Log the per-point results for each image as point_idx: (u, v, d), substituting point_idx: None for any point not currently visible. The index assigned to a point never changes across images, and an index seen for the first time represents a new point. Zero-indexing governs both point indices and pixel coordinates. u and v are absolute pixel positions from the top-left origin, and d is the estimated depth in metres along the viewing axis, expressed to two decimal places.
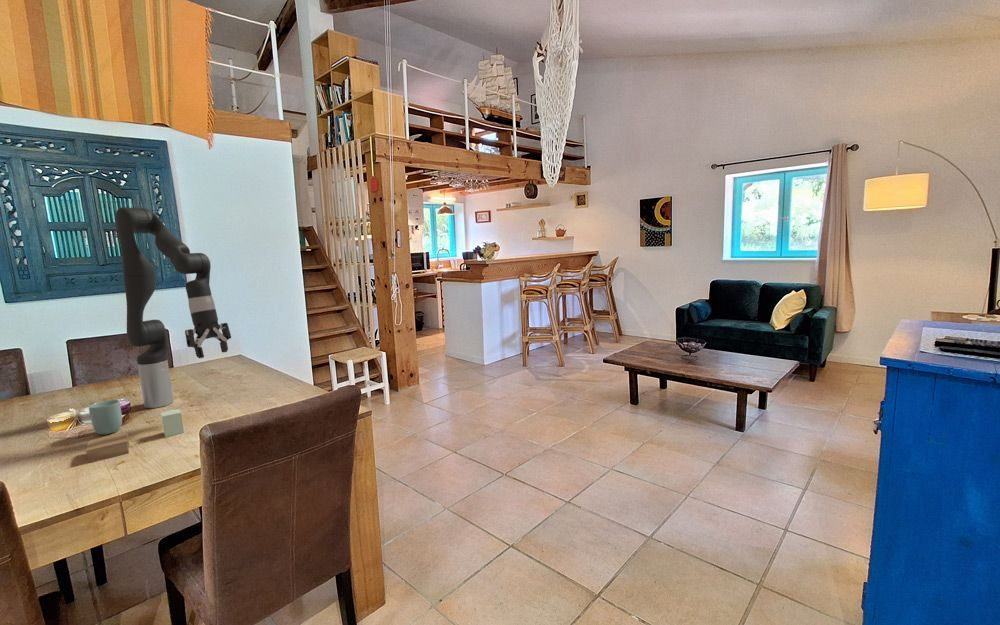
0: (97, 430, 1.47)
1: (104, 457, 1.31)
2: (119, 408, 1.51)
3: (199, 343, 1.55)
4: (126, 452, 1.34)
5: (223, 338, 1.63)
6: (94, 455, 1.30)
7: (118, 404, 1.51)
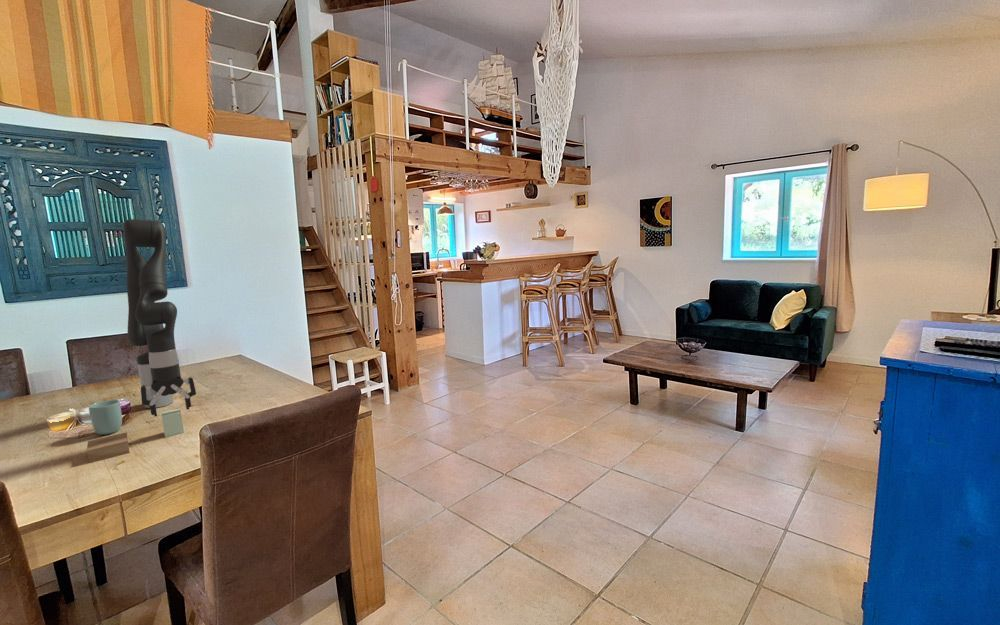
0: (97, 430, 1.47)
1: (105, 457, 1.31)
2: (119, 408, 1.51)
3: (152, 401, 1.43)
4: (127, 452, 1.34)
5: (185, 395, 1.49)
6: (94, 455, 1.30)
7: (118, 404, 1.51)
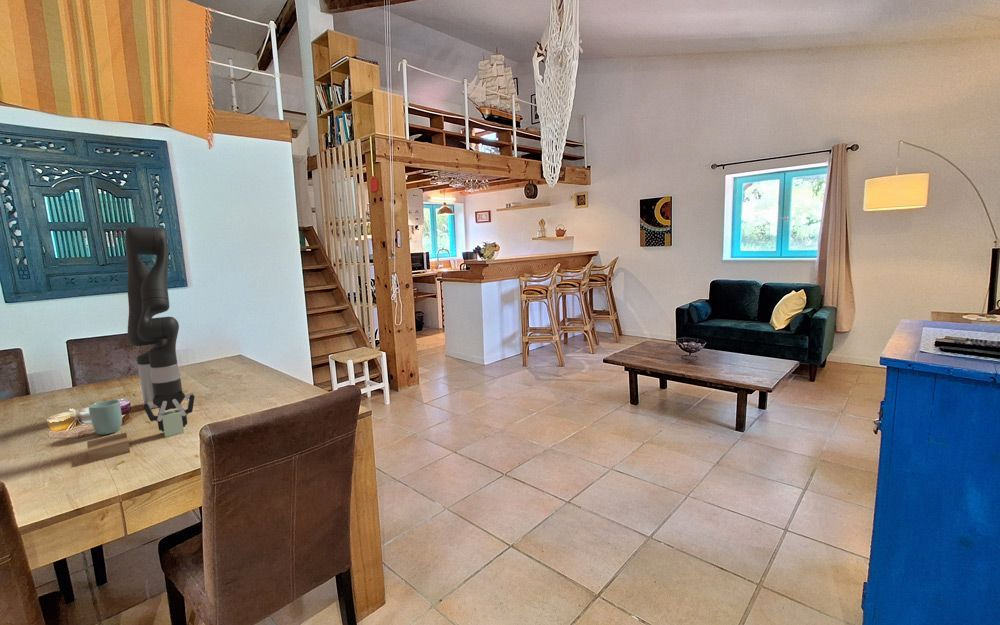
0: (97, 430, 1.47)
1: (106, 457, 1.31)
2: (119, 408, 1.51)
3: (159, 417, 1.45)
4: (127, 451, 1.35)
5: (181, 413, 1.49)
6: (95, 455, 1.30)
7: (118, 404, 1.51)
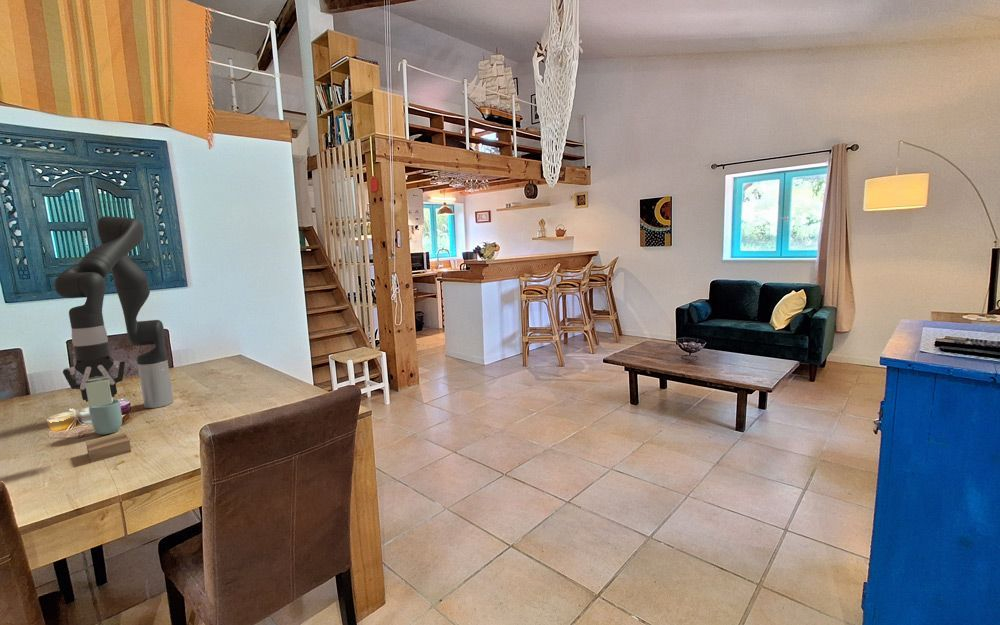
0: (97, 430, 1.47)
1: (107, 456, 1.32)
2: (119, 408, 1.51)
3: (82, 385, 1.29)
4: (129, 451, 1.35)
5: (109, 381, 1.33)
6: (97, 455, 1.30)
7: (118, 404, 1.51)
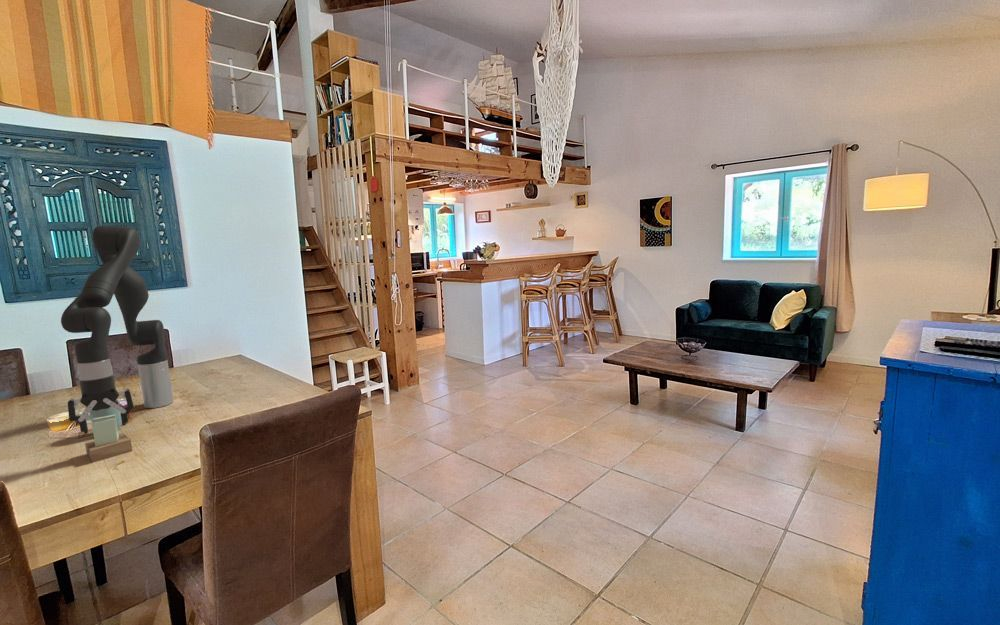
0: None
1: (108, 456, 1.32)
2: None
3: (81, 417, 1.30)
4: (130, 450, 1.35)
5: (120, 409, 1.35)
6: (98, 455, 1.30)
7: None
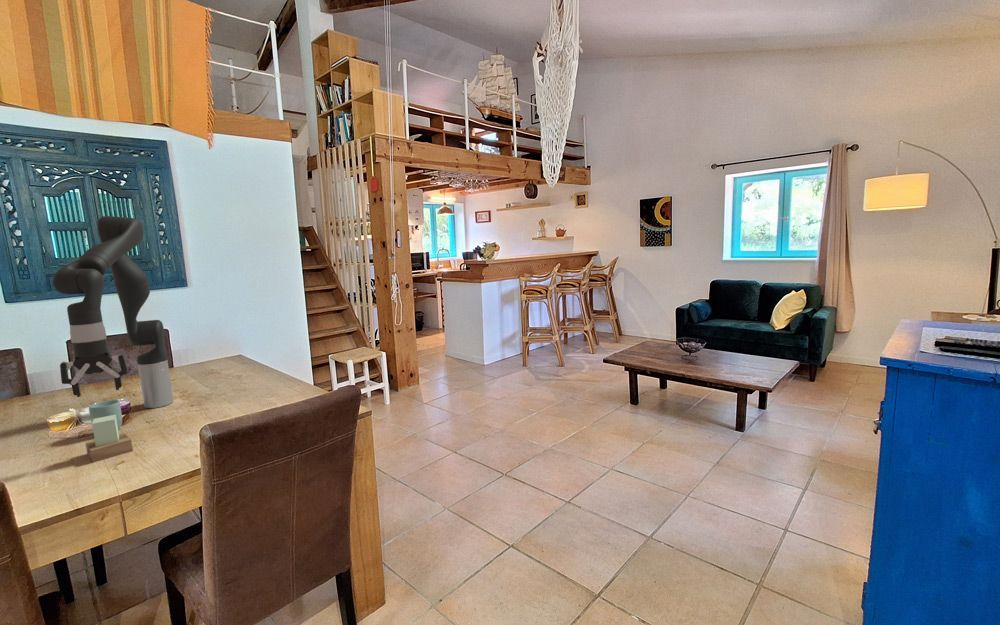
0: None
1: (109, 456, 1.32)
2: (119, 408, 1.51)
3: (74, 380, 1.28)
4: (130, 450, 1.36)
5: (114, 374, 1.33)
6: (99, 454, 1.30)
7: (118, 404, 1.51)
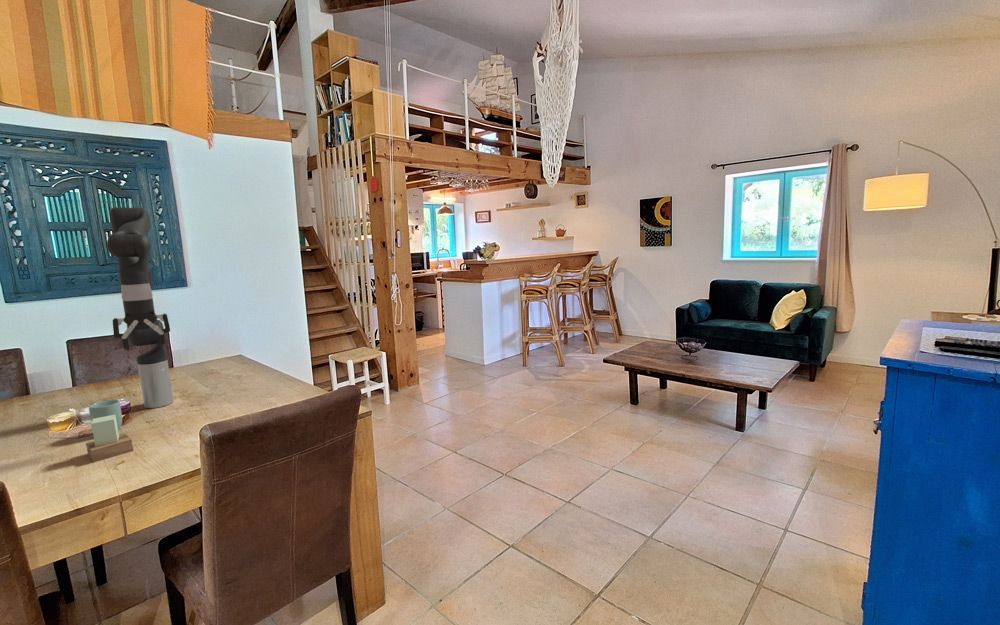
0: None
1: (109, 456, 1.32)
2: (119, 408, 1.51)
3: (124, 335, 1.42)
4: (131, 450, 1.36)
5: (158, 331, 1.47)
6: (99, 454, 1.30)
7: (118, 404, 1.51)
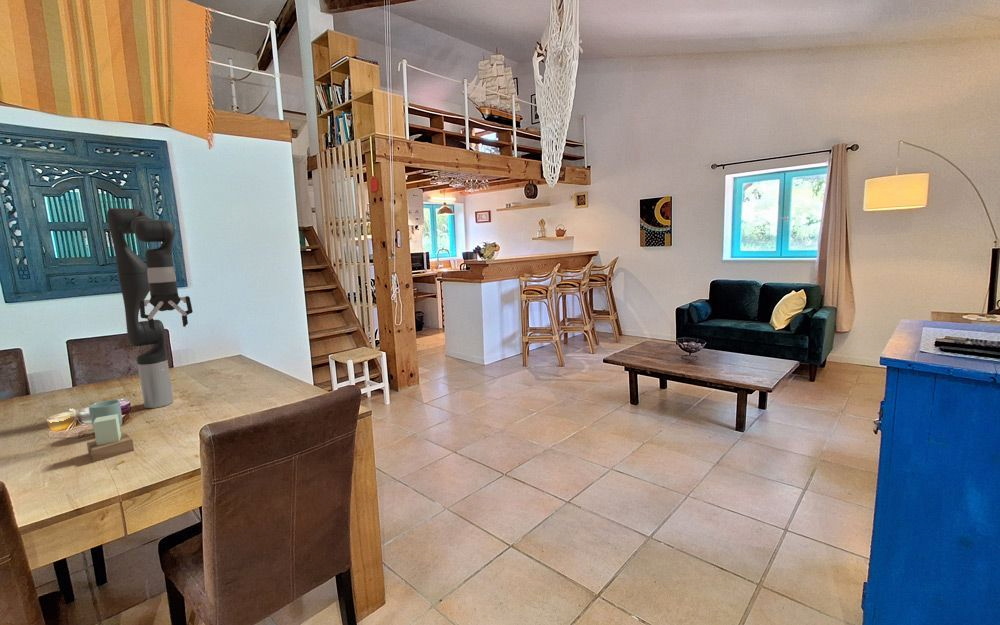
0: None
1: (110, 456, 1.32)
2: (119, 408, 1.51)
3: (150, 315, 1.50)
4: (132, 450, 1.36)
5: (182, 312, 1.55)
6: (100, 454, 1.30)
7: (118, 404, 1.51)
